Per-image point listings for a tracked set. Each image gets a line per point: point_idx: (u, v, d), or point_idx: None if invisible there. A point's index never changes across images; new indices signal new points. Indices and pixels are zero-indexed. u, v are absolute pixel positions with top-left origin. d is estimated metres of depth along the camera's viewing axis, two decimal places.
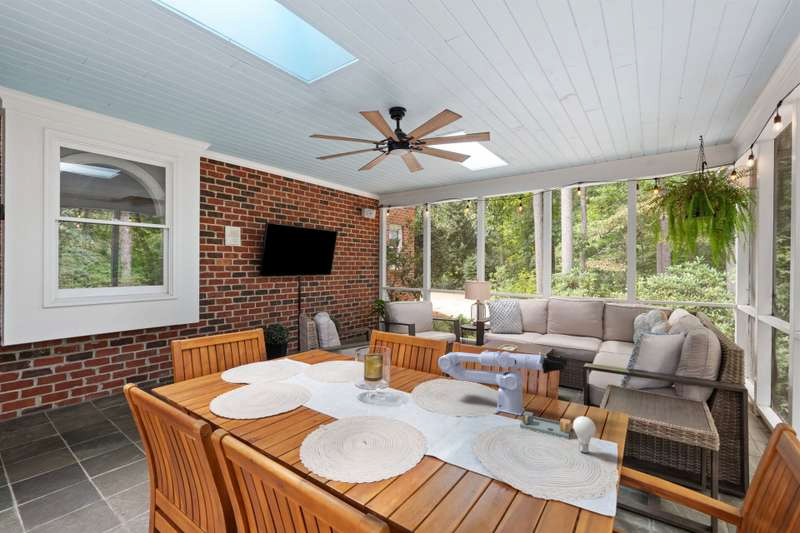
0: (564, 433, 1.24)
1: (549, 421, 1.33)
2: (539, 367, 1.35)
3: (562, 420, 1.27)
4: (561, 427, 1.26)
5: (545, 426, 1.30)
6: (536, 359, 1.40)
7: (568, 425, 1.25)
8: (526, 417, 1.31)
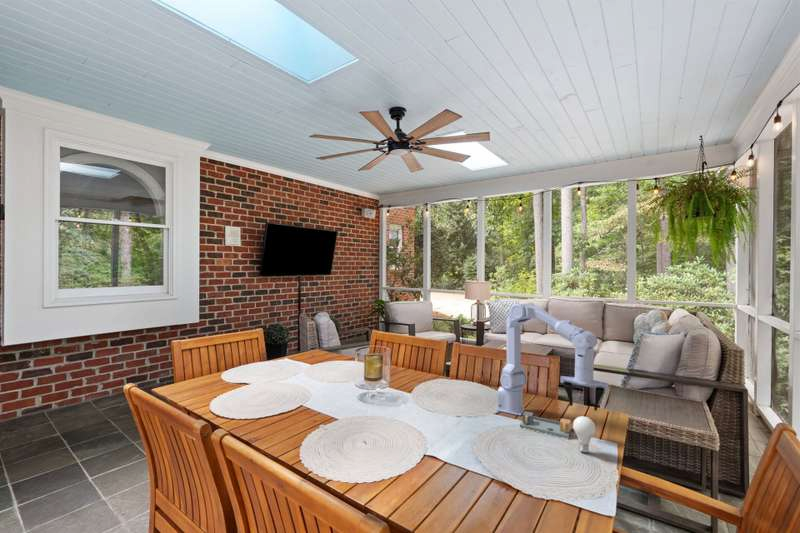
0: (564, 433, 1.24)
1: (549, 421, 1.33)
2: None
3: (562, 420, 1.27)
4: (561, 427, 1.26)
5: (545, 426, 1.30)
6: (575, 377, 1.24)
7: (568, 425, 1.25)
8: (526, 417, 1.31)
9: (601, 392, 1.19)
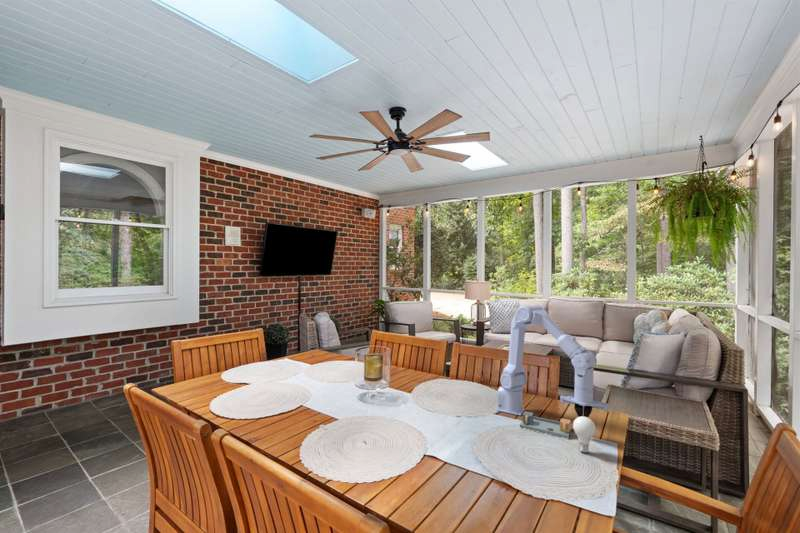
0: (564, 433, 1.24)
1: (549, 421, 1.33)
2: None
3: (562, 420, 1.27)
4: (561, 427, 1.26)
5: (545, 426, 1.30)
6: (575, 397, 1.24)
7: (568, 425, 1.25)
8: (526, 417, 1.31)
9: (589, 411, 1.21)
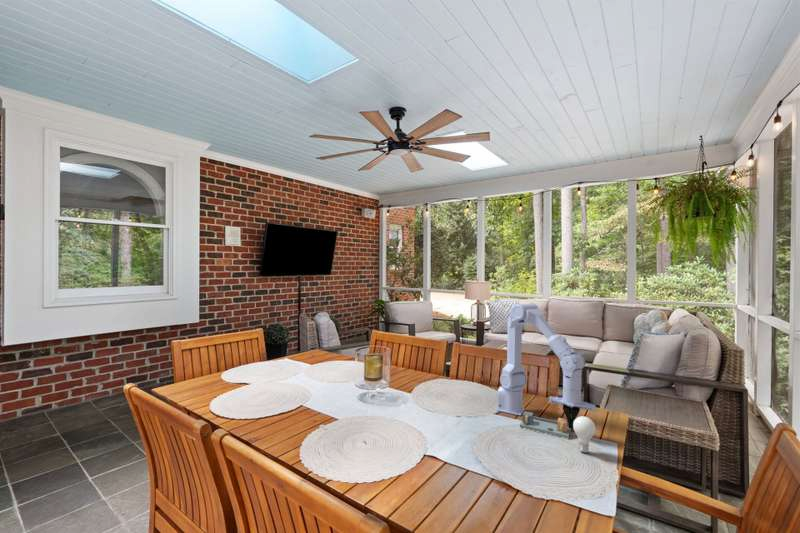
0: (564, 433, 1.24)
1: (549, 421, 1.33)
2: (549, 399, 1.30)
3: (559, 419, 1.27)
4: (558, 426, 1.26)
5: (545, 426, 1.30)
6: (563, 398, 1.26)
7: (565, 424, 1.25)
8: (526, 417, 1.31)
9: (577, 411, 1.23)
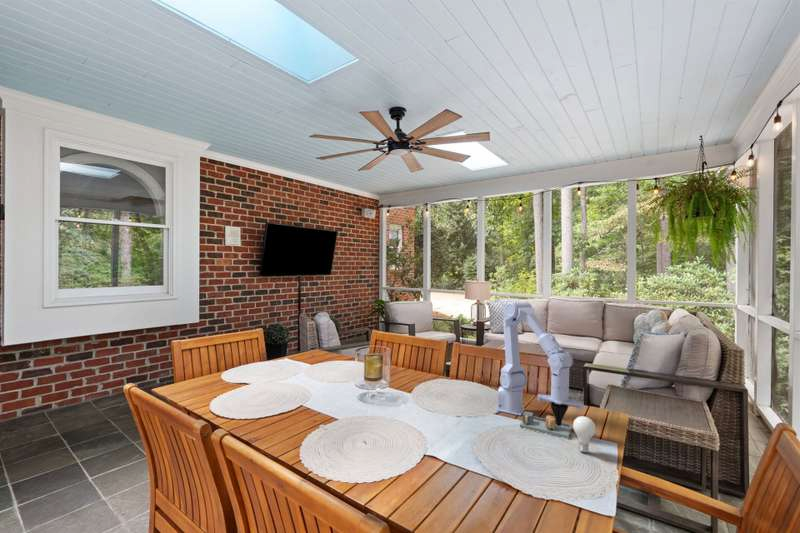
0: (564, 433, 1.24)
1: None
2: None
3: (548, 417, 1.29)
4: (547, 424, 1.28)
5: None
6: (551, 396, 1.28)
7: (553, 422, 1.27)
8: (526, 417, 1.31)
9: (564, 409, 1.25)
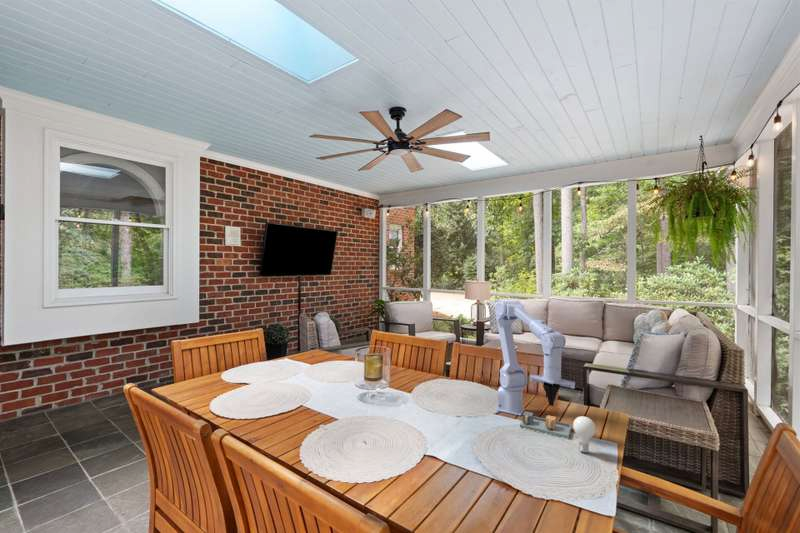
0: (564, 433, 1.24)
1: None
2: None
3: (548, 417, 1.29)
4: (547, 424, 1.28)
5: None
6: (544, 376, 1.28)
7: (553, 422, 1.27)
8: (526, 417, 1.31)
9: (556, 388, 1.25)
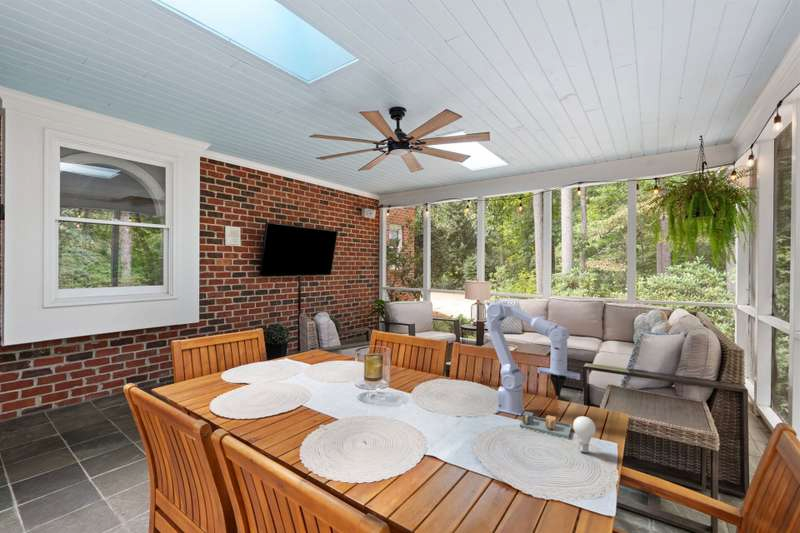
0: (564, 433, 1.24)
1: None
2: (538, 370, 1.39)
3: (548, 417, 1.29)
4: (547, 424, 1.28)
5: None
6: (551, 368, 1.35)
7: (553, 422, 1.27)
8: (526, 417, 1.31)
9: (563, 379, 1.32)
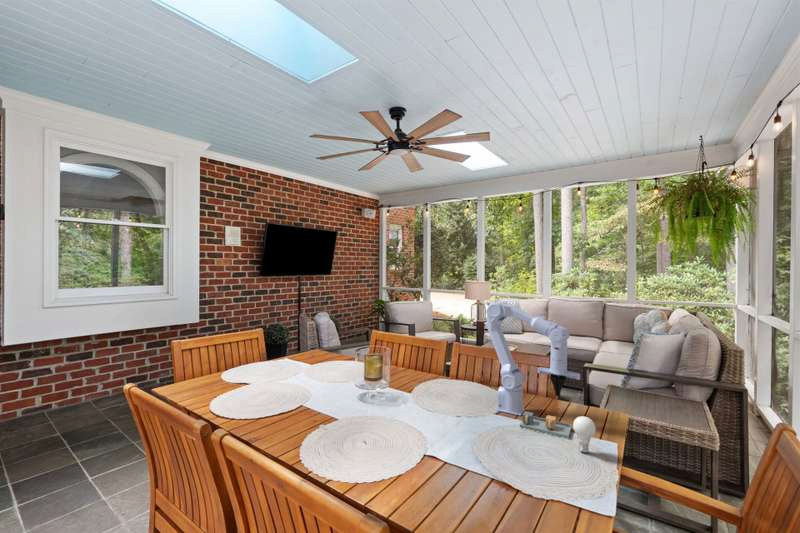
0: (564, 433, 1.24)
1: None
2: (538, 370, 1.39)
3: (548, 417, 1.29)
4: (547, 424, 1.28)
5: None
6: (551, 368, 1.35)
7: (553, 422, 1.27)
8: (526, 417, 1.31)
9: (563, 379, 1.32)
